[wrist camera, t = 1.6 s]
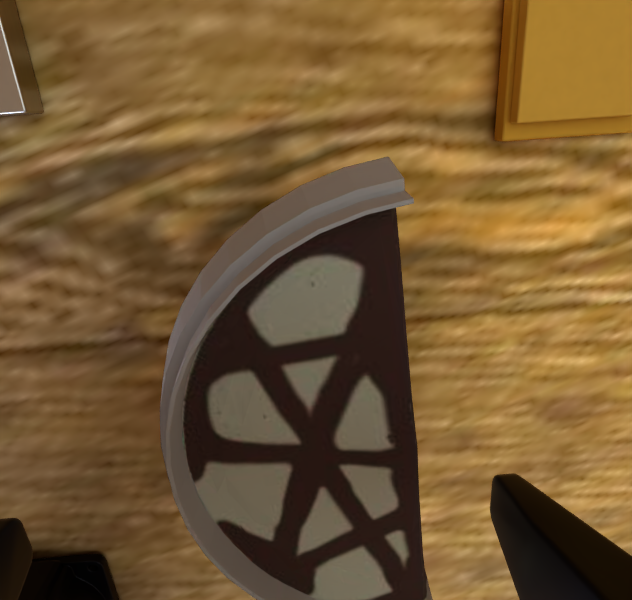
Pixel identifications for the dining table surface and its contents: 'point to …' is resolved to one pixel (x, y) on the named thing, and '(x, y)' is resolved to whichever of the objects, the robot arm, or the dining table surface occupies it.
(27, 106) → the silver flat block
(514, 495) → the robot arm
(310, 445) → the food container
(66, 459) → the dining table surface
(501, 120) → the yellow brown rectangular slab
